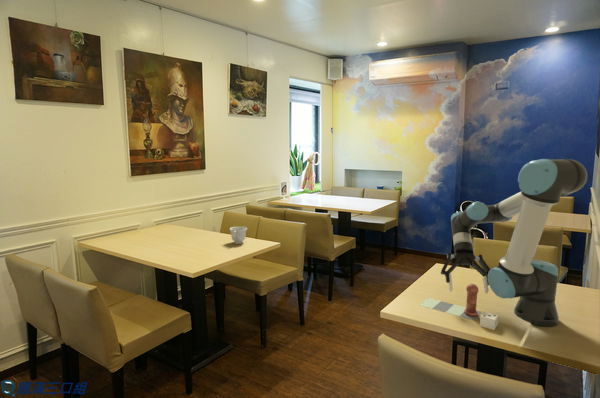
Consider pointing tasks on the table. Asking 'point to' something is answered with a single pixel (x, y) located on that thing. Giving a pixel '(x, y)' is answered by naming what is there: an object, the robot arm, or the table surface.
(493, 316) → the die
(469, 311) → the brown tall rounded piece
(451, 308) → the game board
